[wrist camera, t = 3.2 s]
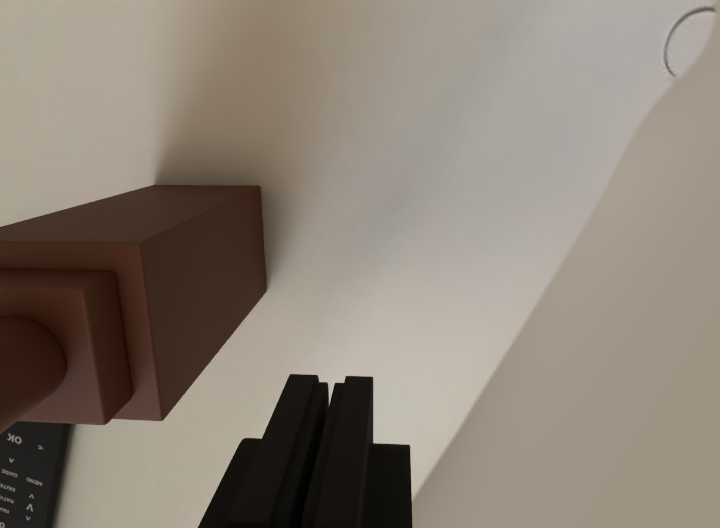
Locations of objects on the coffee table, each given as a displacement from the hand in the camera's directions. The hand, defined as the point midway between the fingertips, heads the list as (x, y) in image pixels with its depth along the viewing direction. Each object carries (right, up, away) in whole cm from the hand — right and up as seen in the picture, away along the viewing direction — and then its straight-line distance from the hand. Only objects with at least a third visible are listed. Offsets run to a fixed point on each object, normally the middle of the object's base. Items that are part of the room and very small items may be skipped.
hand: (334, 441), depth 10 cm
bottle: (-7, +5, +16) cm, 18 cm away
